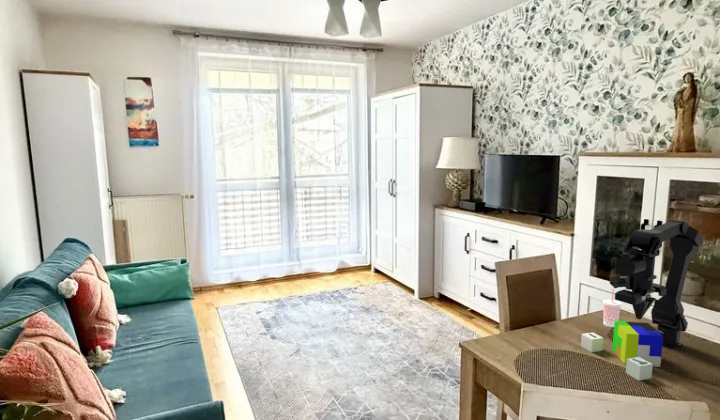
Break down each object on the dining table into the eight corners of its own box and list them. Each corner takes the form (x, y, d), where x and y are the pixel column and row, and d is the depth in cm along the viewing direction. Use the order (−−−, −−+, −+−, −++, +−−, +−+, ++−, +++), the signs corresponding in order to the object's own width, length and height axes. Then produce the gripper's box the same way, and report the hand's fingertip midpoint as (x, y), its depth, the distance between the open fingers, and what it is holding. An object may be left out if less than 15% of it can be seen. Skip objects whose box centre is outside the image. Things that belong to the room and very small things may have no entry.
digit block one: (592, 344, 146) (592, 331, 146) (602, 350, 142) (603, 337, 141) (580, 346, 145) (581, 333, 144) (591, 352, 141) (592, 338, 140)
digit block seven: (637, 370, 129) (639, 356, 128) (651, 378, 125) (652, 363, 124) (625, 373, 128) (627, 358, 127) (638, 380, 124) (640, 365, 123)
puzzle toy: (660, 367, 131) (663, 336, 130) (624, 364, 133) (626, 333, 132) (645, 351, 141) (648, 323, 139) (612, 349, 143) (614, 320, 141)
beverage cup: (619, 329, 158) (622, 293, 156) (600, 325, 161) (603, 290, 159) (619, 323, 163) (622, 288, 161) (601, 320, 166) (604, 285, 164)
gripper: (632, 261, 144) (628, 305, 147) (599, 269, 135) (596, 316, 138) (669, 269, 135) (664, 316, 137) (636, 278, 126) (632, 328, 128)
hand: (638, 318), depth 135 cm, fingers closed
